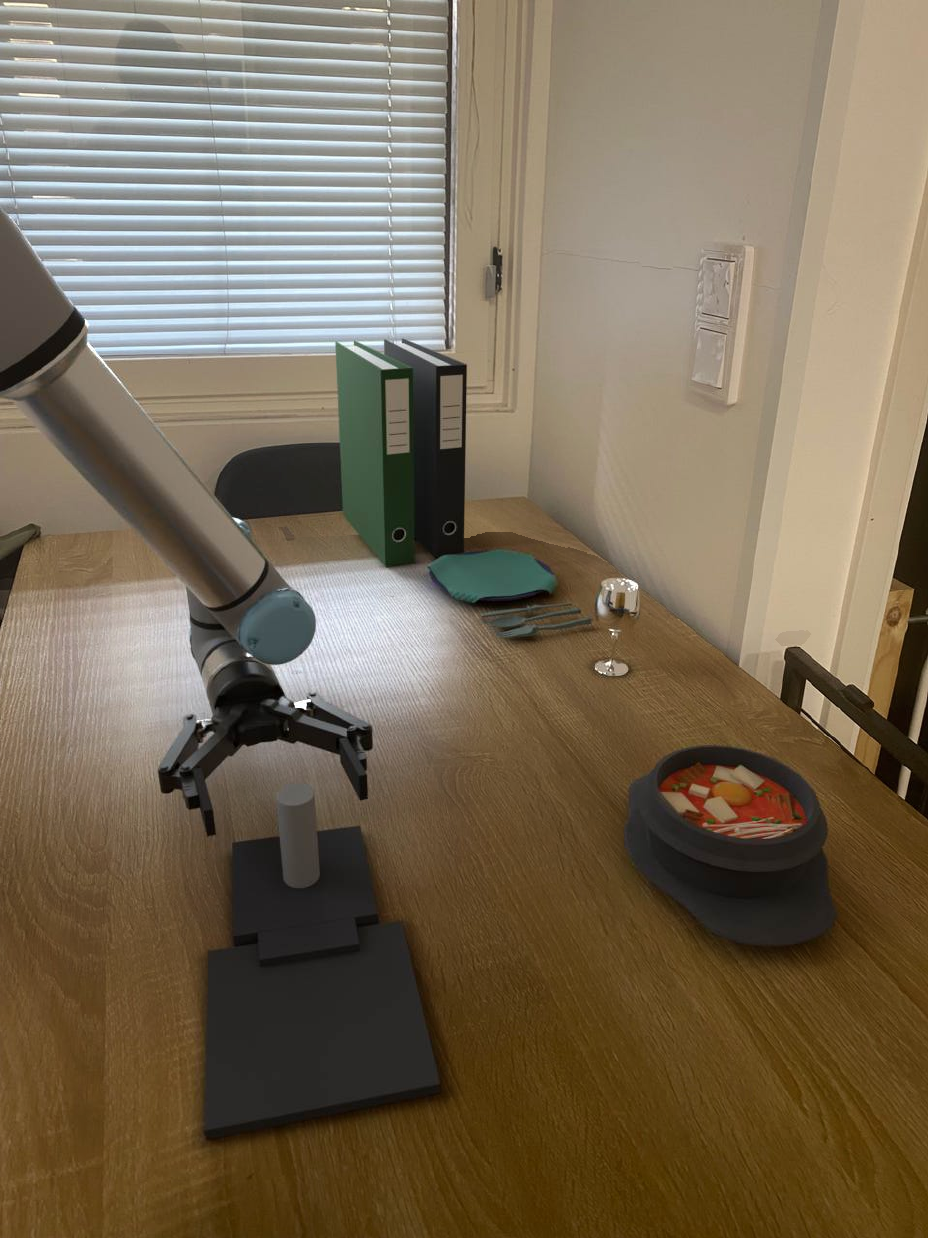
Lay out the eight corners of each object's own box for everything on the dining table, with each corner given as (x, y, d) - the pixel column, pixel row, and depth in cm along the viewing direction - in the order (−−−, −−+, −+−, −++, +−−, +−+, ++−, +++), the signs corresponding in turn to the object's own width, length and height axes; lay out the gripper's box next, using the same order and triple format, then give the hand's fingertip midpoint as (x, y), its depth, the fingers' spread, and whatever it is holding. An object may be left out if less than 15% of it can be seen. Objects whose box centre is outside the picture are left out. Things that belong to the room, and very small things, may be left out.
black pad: (205, 1141, 60) (203, 1131, 60) (209, 959, 74) (207, 950, 74) (440, 1093, 64) (440, 1084, 63) (401, 928, 78) (401, 919, 77)
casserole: (887, 948, 77) (910, 871, 73) (679, 977, 74) (692, 897, 70) (751, 775, 99) (763, 709, 95) (587, 792, 96) (593, 724, 92)
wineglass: (585, 658, 123) (592, 576, 117) (626, 657, 123) (635, 575, 118) (595, 679, 117) (603, 595, 112) (638, 678, 118) (648, 593, 113)
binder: (339, 515, 173) (331, 341, 159) (412, 506, 178) (410, 337, 164) (385, 566, 151) (380, 369, 137) (467, 554, 156) (470, 364, 142)
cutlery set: (524, 555, 156) (525, 542, 155) (605, 628, 131) (606, 614, 130) (413, 568, 150) (413, 555, 149) (475, 648, 125) (476, 633, 124)
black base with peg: (235, 980, 73) (221, 875, 68) (233, 857, 86) (222, 762, 81) (384, 956, 75) (381, 853, 70) (360, 840, 88) (357, 746, 84)
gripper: (356, 699, 103) (422, 807, 86) (125, 744, 94) (146, 874, 77) (354, 640, 100) (422, 740, 83) (115, 681, 91) (133, 802, 74)
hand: (289, 805), depth 80 cm, fingers open, 13 cm apart
